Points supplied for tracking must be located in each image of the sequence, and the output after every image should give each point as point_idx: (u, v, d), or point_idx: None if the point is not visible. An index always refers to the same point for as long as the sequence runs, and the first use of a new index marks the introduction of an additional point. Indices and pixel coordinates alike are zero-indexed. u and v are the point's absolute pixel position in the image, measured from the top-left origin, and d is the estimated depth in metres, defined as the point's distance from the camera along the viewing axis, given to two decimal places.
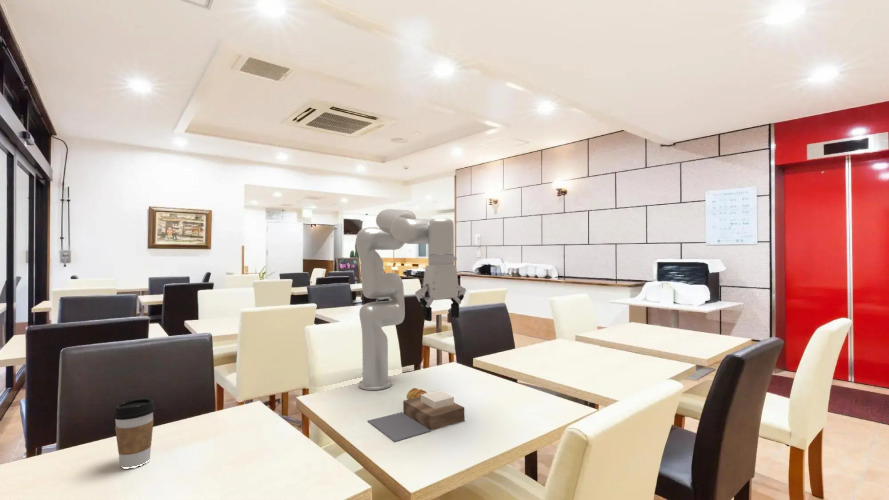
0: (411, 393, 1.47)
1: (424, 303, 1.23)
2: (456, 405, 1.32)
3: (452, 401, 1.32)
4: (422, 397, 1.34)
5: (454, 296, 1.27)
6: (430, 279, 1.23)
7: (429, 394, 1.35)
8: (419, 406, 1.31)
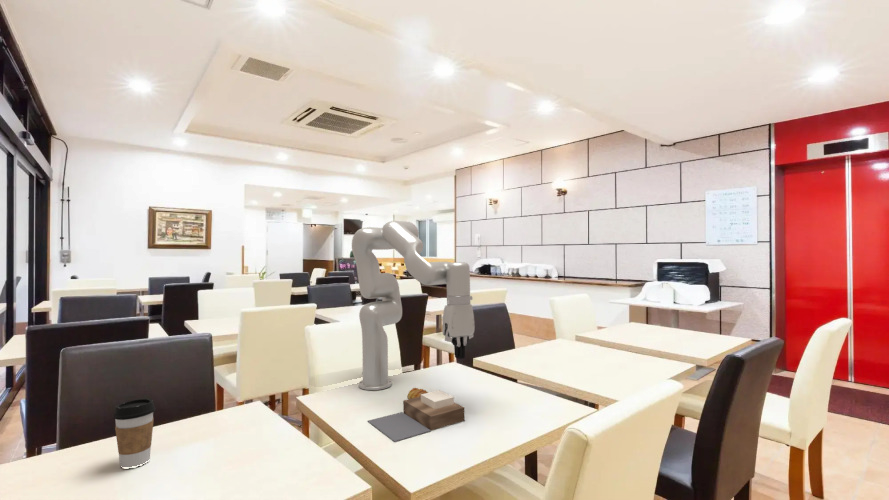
0: (412, 393, 1.47)
1: (455, 343, 1.37)
2: (456, 405, 1.32)
3: (452, 401, 1.32)
4: (422, 397, 1.34)
5: (471, 333, 1.39)
6: (449, 319, 1.35)
7: (429, 394, 1.35)
8: (419, 406, 1.31)
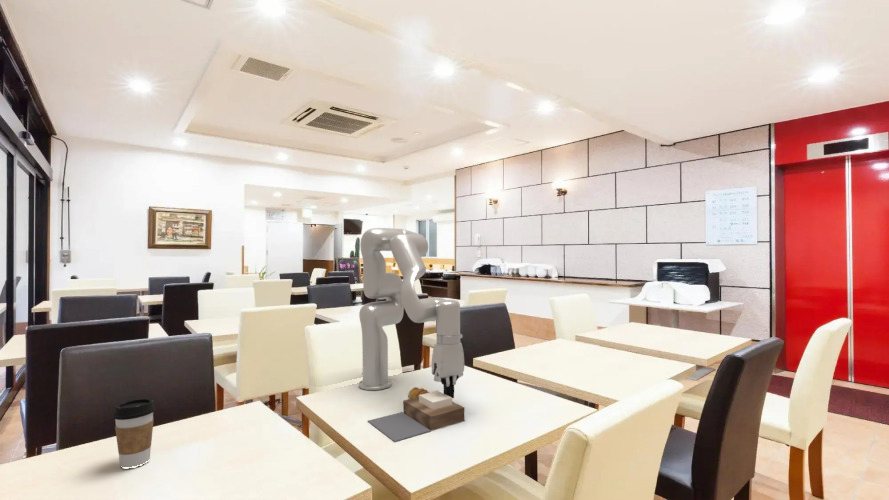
0: (413, 392, 1.47)
1: (444, 383, 1.35)
2: (456, 405, 1.32)
3: (450, 402, 1.32)
4: (420, 398, 1.34)
5: (460, 372, 1.37)
6: (438, 359, 1.32)
7: (427, 395, 1.35)
8: (419, 406, 1.31)
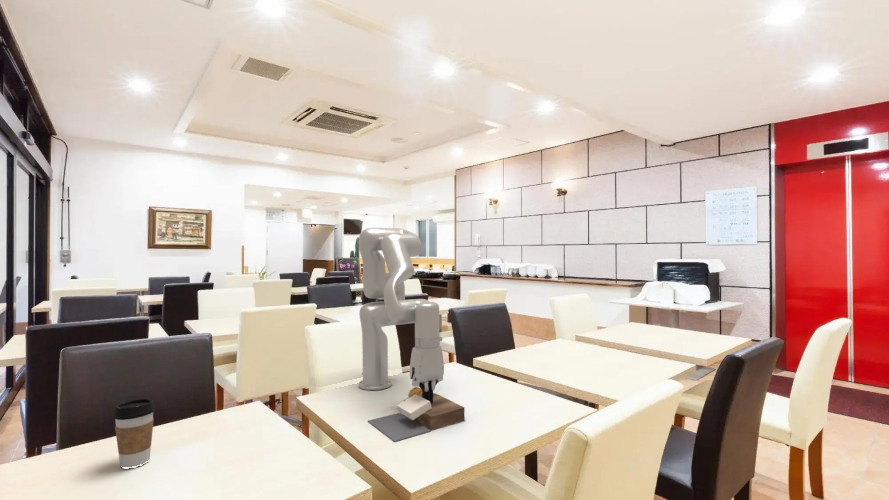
0: (413, 392, 1.48)
1: (423, 387, 1.30)
2: (456, 405, 1.32)
3: (429, 406, 1.27)
4: (398, 408, 1.29)
5: (440, 376, 1.32)
6: (416, 363, 1.28)
7: (405, 403, 1.30)
8: None
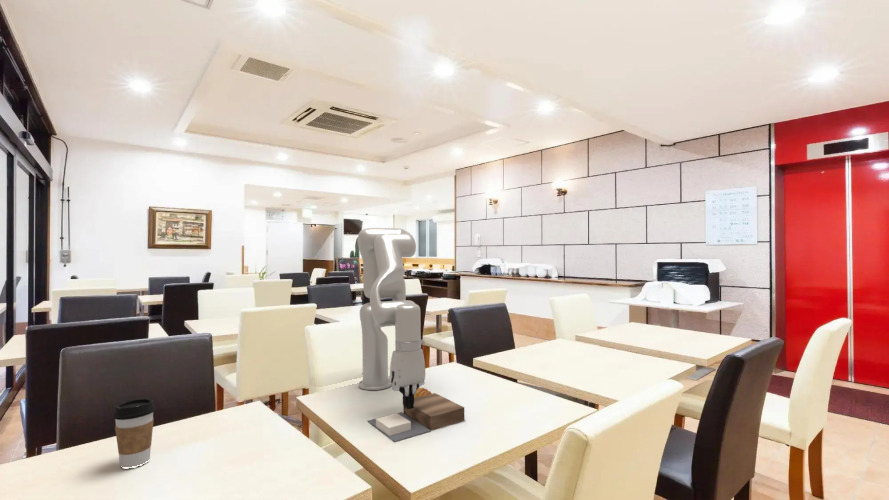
0: None
1: (403, 392, 1.26)
2: (456, 405, 1.32)
3: (390, 430, 1.19)
4: None
5: (421, 381, 1.28)
6: (396, 367, 1.24)
7: None
8: (419, 406, 1.31)
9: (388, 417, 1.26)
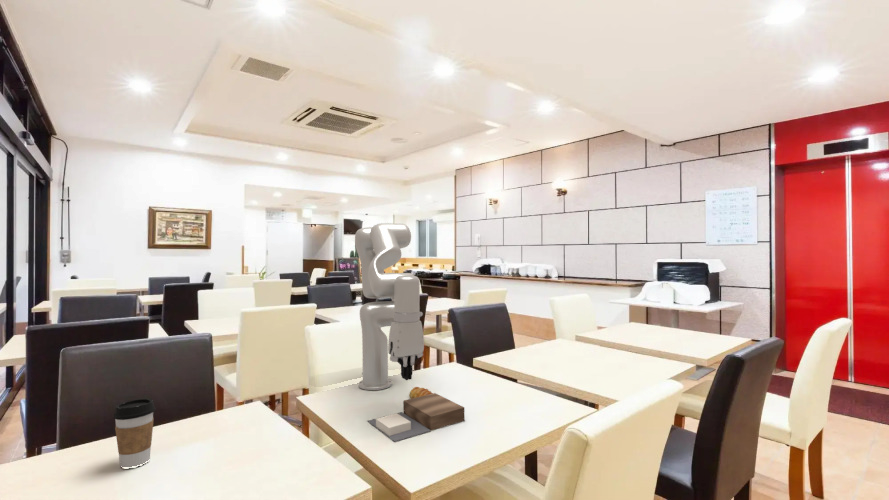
0: (414, 392, 1.48)
1: (401, 363, 1.27)
2: (456, 405, 1.32)
3: (390, 430, 1.19)
4: None
5: (419, 352, 1.29)
6: (394, 337, 1.24)
7: None
8: (419, 406, 1.31)
9: (388, 417, 1.26)
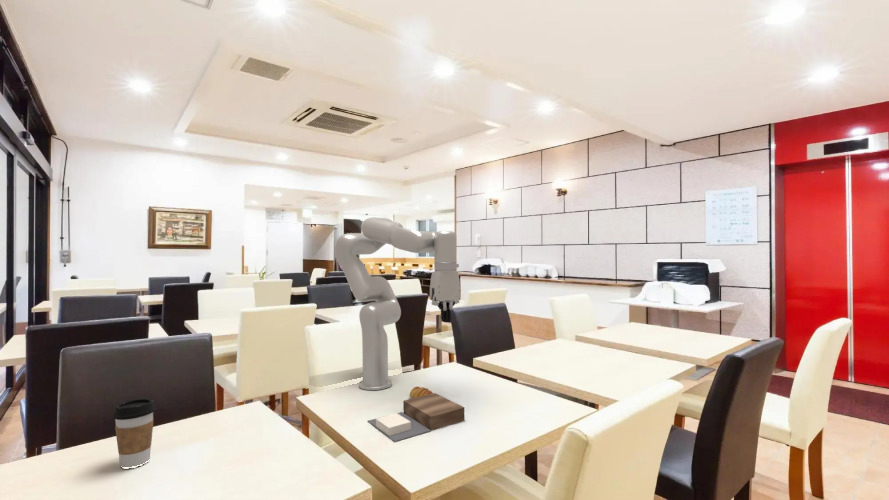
0: (414, 391, 1.48)
1: (442, 307, 1.44)
2: (456, 405, 1.32)
3: (390, 430, 1.19)
4: None
5: (457, 298, 1.46)
6: (436, 284, 1.42)
7: None
8: (419, 406, 1.31)
9: (388, 417, 1.26)
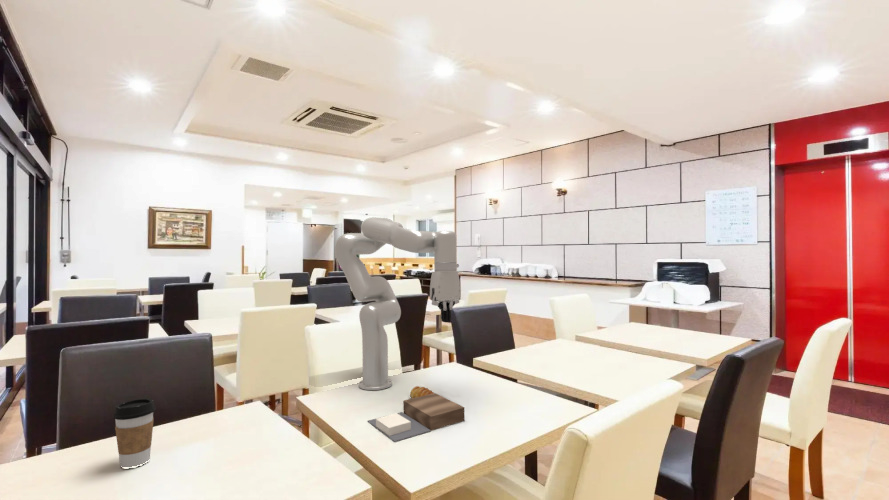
0: (415, 391, 1.49)
1: (442, 307, 1.44)
2: (456, 405, 1.32)
3: (390, 430, 1.19)
4: None
5: (457, 298, 1.46)
6: (436, 284, 1.42)
7: None
8: (419, 406, 1.31)
9: (388, 417, 1.26)
